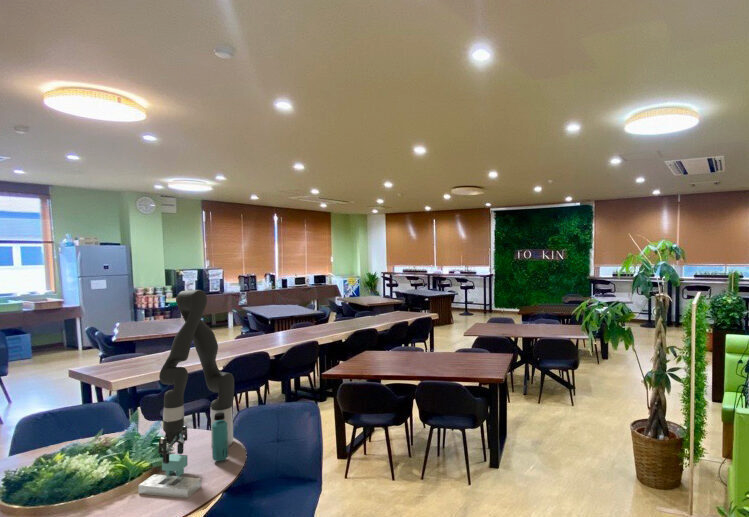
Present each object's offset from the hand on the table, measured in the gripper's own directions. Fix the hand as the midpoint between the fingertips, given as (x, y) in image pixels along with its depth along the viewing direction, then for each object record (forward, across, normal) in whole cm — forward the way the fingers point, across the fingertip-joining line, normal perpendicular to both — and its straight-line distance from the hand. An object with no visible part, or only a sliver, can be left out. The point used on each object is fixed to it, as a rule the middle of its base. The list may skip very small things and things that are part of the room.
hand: (173, 458), depth 168 cm
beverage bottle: (+6, -14, +12) cm, 19 cm away
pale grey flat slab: (+6, +10, +6) cm, 14 cm away
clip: (+6, 0, 0) cm, 6 cm away
